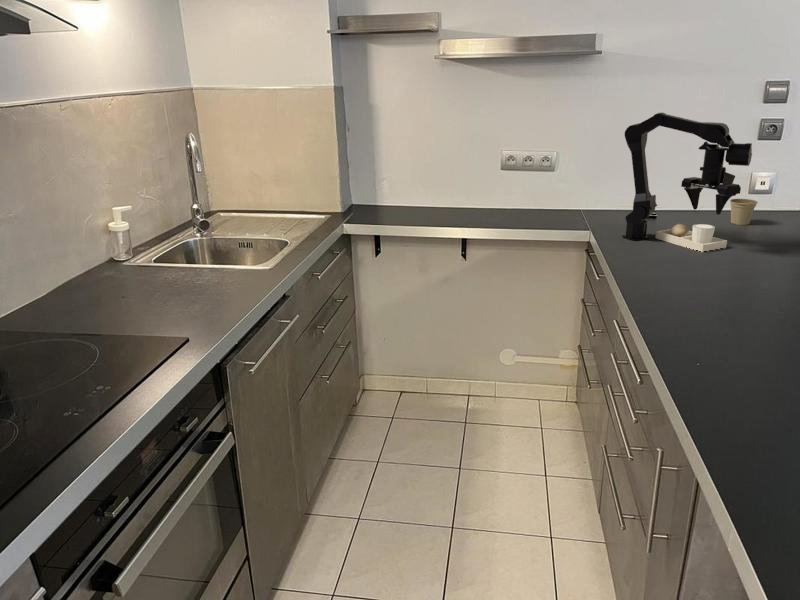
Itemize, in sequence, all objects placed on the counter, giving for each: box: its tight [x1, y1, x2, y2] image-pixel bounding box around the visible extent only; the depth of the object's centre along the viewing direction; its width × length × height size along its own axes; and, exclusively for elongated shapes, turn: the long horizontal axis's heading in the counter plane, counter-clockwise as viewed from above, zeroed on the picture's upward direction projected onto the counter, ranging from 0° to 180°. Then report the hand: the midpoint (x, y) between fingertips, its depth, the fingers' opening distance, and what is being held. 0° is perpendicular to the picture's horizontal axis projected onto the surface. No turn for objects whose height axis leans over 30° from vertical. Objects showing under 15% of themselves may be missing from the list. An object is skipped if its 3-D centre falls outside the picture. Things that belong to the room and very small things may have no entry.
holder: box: [655, 228, 728, 253], centre depth 211 cm, size 11×20×2 cm, turn 23°
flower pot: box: [729, 198, 759, 226], centre depth 232 cm, size 9×9×9 cm
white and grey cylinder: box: [691, 223, 716, 244], centre depth 206 cm, size 7×7×7 cm
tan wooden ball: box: [670, 223, 689, 237], centre depth 214 cm, size 6×6×6 cm
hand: (706, 211), depth 203 cm, fingers open, 9 cm apart
